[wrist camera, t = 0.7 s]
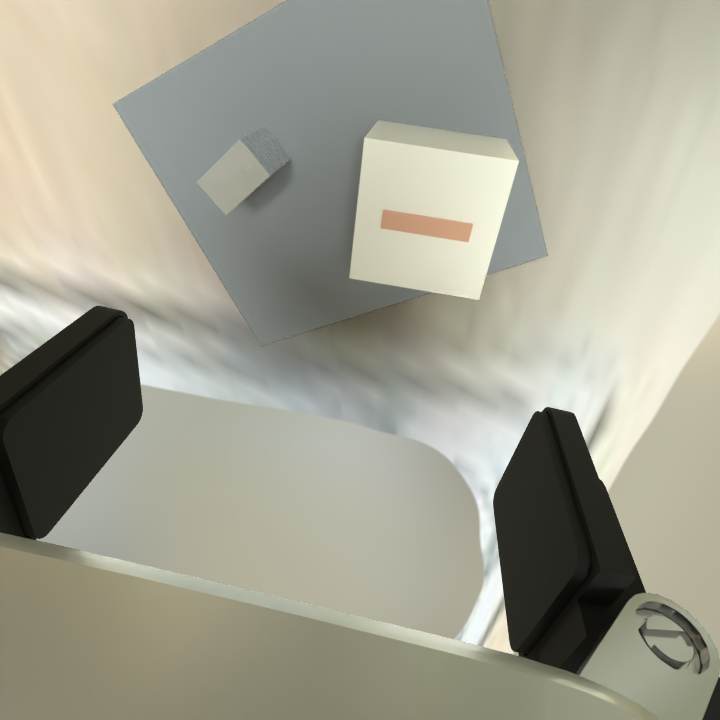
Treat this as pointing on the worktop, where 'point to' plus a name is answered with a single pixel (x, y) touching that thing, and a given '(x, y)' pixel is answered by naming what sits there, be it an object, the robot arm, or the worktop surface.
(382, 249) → the white striped cube
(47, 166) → the worktop surface
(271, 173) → the pale grey block
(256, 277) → the base plate
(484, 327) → the worktop surface
